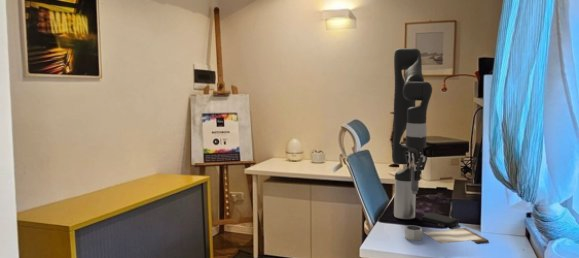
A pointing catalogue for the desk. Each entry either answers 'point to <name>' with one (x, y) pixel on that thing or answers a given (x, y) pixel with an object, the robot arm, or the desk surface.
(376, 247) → the desk surface
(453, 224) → the carrying case or bag
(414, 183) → the marker
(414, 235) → the pen cup
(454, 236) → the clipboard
